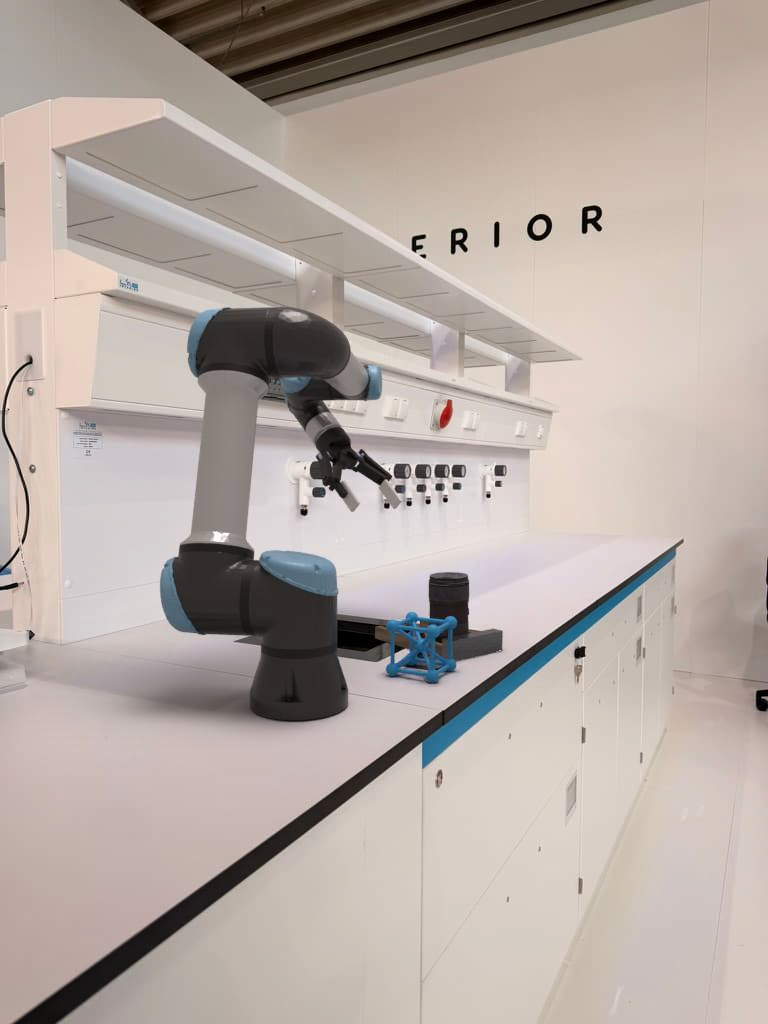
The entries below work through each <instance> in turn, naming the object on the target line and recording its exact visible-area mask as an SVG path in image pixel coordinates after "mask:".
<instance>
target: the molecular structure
mask: <svg viewBox="0 0 768 1024" xmlns="http://www.w3.org/2000/svg"><path fill="white" fill-rule="evenodd" d="M420 621H423V622H432V623H440V624H442V625H440V626H437V625H434V624H433V625H429V626H428V627H427V628H420V626H419V627H418V626H417V623H418V622H420ZM404 624H409V625H404ZM456 625H457V620H456V619H455V618H454V617H452V616H448V617H447V618H446V619H445V620H441V619H432V618H429V617H421V616H418V614H417V613H416V612H415V611H409V612H407V613H406V615H405V618H404V619H401V620H399V621H397V620H395V619H390V620H388V621H387V623H386V626H385V627H386V628H387V630H388V631H389V632H390V633H391V643H390V656H389V657H390V661H389V662H390V663H388V664H387V665H386V667H385V672H386V674H387V675H388V676H390V677H394V676H395V677H396V676H397V675H398V674H399V673H400V674H404V675H411V676H418V677H424V678H425V679H426V680H427V682H429V683H433V684H434V683H436V682H438V680H439V679H440V674H441V673H443V672H445V671H447V672H453V671H455V670H456V669H457V661H455V660H454V659H452V629H454V628H455V627H456ZM447 628H448V659H444V658H443V657H441V656H440V655H438V654H437V653H435V638H436V637H438V636H439V634H440V633H442V632H443V631H444V630H445V629H447ZM406 631H409V633H407V632H406ZM395 632H398V633H400V634H401V635H403V636H404V637H406V638H407V639H409V640H410V649H409V653H407V654H406V655H405V656H404V657H402V659H401V660H399V661H398V662H396V659H395V658H396V657H395V656H396V653H395V652H396V651H395V649H396V647H395V646H396V645H395ZM420 633H426V636H425V637H424V638H425V639H421V638H422V636H421V634H420ZM409 634H410V635H409ZM414 634H415V635H414ZM414 636H416V637H417V640H416V639H415V638H414ZM429 642H431V649H429V648H428V643H429ZM414 643H415V649H414ZM426 651H427V652H428V653H429V654H431V656H430V659H429V655H427V653H426ZM420 652H422V653H421V654H422V656H423V658H420V657H418V655H419V653H420ZM435 659H437V660H435ZM417 663H420V664H421V663H422V664H425V665H426V668H427V671H426V672H424V671H417V670H412V669H411V670H410V669H406V668H402V667H404V666H405V665H408V666H410V667H411V666H415V665H416V664H417ZM436 666H441V667H440V668H439V669H436Z"/></svg>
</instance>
